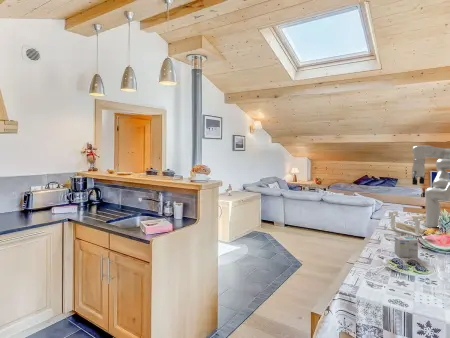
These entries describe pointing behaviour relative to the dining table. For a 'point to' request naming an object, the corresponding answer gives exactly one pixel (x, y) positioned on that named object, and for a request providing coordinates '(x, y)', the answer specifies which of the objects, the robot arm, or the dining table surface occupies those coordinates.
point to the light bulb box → (406, 247)
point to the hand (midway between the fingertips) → (418, 184)
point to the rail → (408, 227)
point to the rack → (417, 229)
